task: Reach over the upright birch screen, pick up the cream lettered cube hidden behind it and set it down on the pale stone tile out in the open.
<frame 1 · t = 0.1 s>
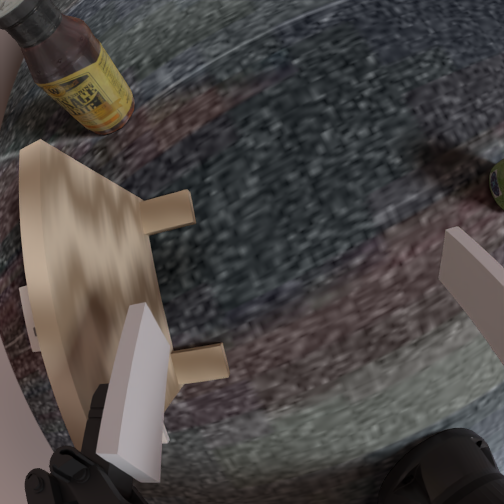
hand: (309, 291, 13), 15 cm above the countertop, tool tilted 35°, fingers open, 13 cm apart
sauce bottle: (114, 113, 30), on the countertop
letter cube: (80, 309, 29), on the countertop
beverage can: (497, 187, 28), on the countertop
screen: (152, 295, 28), on the countertop
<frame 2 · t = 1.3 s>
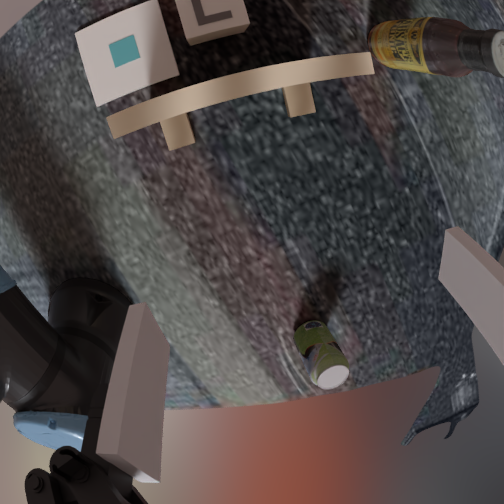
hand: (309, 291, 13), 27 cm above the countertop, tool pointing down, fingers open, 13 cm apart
tile: (126, 51, 28), on the countertop
sauce bottle: (385, 46, 30), on the countertop
letter cube: (210, 15, 27), on the countertop
beverage can: (310, 326, 52), on the countertop
screen: (229, 82, 31), on the countertop
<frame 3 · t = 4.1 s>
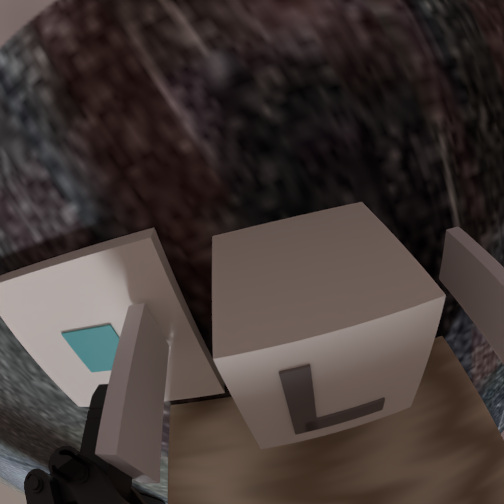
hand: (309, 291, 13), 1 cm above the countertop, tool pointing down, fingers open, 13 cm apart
tile: (103, 338, 14), on the countertop
letter cube: (298, 278, 14), on the countertop
screen: (314, 385, 18), on the countertop
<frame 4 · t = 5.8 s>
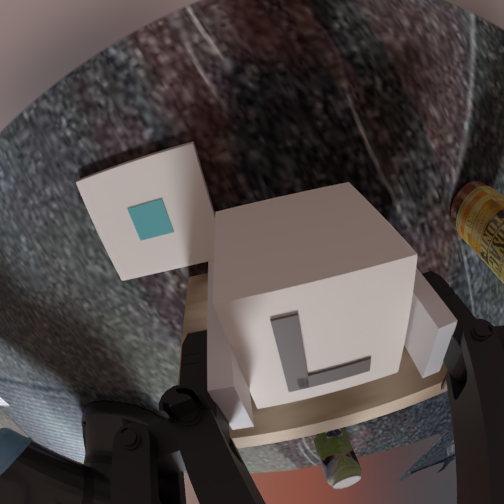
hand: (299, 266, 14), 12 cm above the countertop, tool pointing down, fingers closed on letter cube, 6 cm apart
tile: (152, 215, 25), on the countertop
sauce bottle: (466, 206, 27), on the countertop
letter cube: (293, 253, 15), point 11 cm above the countertop, touching gripper
beverage can: (330, 429, 50), on the countertop
screen: (287, 262, 29), on the countertop
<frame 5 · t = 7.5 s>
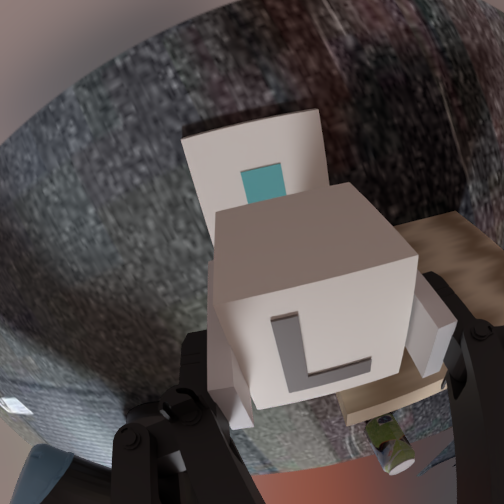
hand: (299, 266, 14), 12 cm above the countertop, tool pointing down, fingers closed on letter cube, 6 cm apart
tile: (263, 182, 24), on the countertop
letter cube: (294, 253, 15), point 11 cm above the countertop, touching gripper
beverage can: (379, 416, 49), on the countertop
screen: (382, 236, 28), on the countertop
when the fingers open (1 cm above the countertop, at t = 9.6 s): letter cube stays where it is, resting on tile.
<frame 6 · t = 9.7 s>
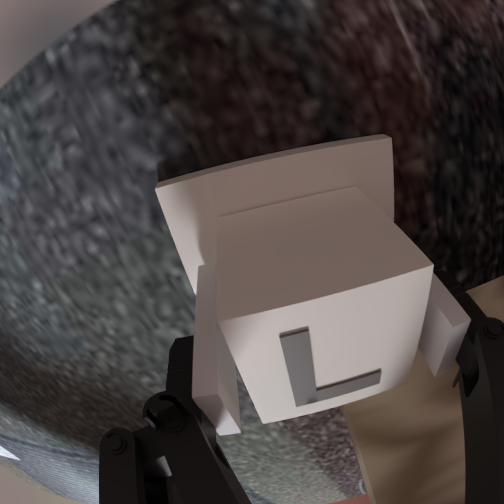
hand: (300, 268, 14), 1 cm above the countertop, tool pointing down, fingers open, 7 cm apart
tile: (293, 252, 15), on the countertop
letter cube: (298, 260, 14), point 1 cm above the countertop, touching tile
screen: (442, 307, 19), on the countertop
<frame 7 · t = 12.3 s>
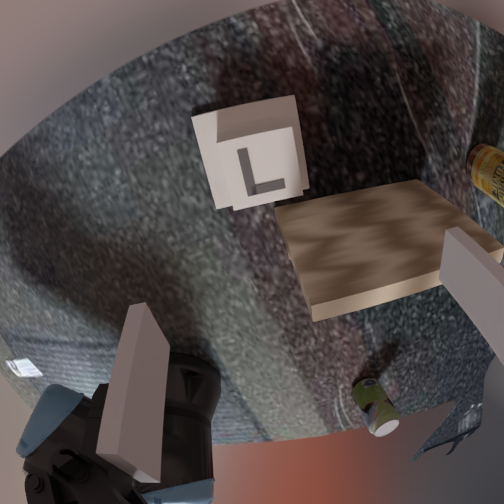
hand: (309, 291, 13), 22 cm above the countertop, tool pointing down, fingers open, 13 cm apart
tile: (252, 151, 31), on the countertop
sauce bottle: (477, 163, 33), on the countertop
letter cube: (254, 151, 30), point 1 cm above the countertop, touching tile
beverage can: (365, 381, 56), on the countertop
screen: (351, 197, 35), on the countertop
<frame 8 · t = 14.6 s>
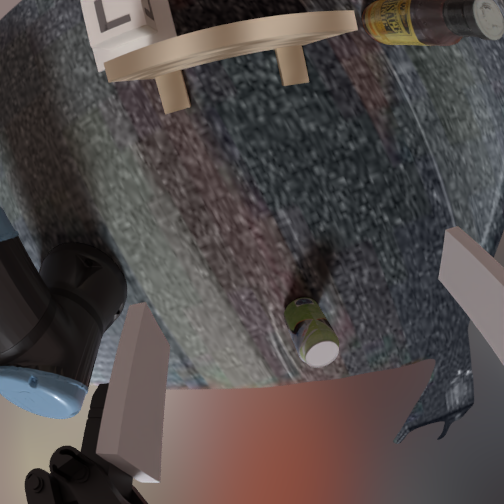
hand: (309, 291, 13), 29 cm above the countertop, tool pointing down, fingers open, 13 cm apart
tile: (129, 21, 27), on the countertop
sauce bottle: (379, 24, 30), on the countertop
letter cube: (127, 19, 26), point 1 cm above the countertop, touching tile
beverage can: (301, 304, 52), on the countertop
screen: (226, 51, 31), on the countertop
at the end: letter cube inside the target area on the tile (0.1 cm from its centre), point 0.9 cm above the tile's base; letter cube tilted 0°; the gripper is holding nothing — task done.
